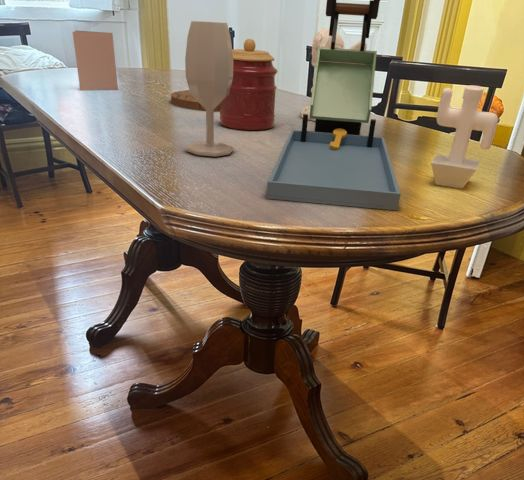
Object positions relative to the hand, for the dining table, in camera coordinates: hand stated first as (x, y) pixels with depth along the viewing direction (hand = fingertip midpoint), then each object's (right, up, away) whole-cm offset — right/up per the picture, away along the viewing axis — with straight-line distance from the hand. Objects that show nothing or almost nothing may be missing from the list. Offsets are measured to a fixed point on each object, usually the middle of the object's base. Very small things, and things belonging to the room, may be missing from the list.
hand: (348, 36), depth 108 cm
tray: (-5, -34, -16) cm, 38 cm away
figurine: (+14, -38, -20) cm, 45 cm away
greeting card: (-69, +14, +49) cm, 86 cm away
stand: (-2, -20, +5) cm, 21 cm away
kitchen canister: (-22, -13, +14) cm, 29 cm away
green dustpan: (-1, -8, 0) cm, 8 cm away
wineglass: (-28, -28, -10) cm, 41 cm away
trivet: (-32, +4, +38) cm, 50 cm away
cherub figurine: (-2, -5, +27) cm, 28 cm away
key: (-3, -24, -4) cm, 24 cm away
